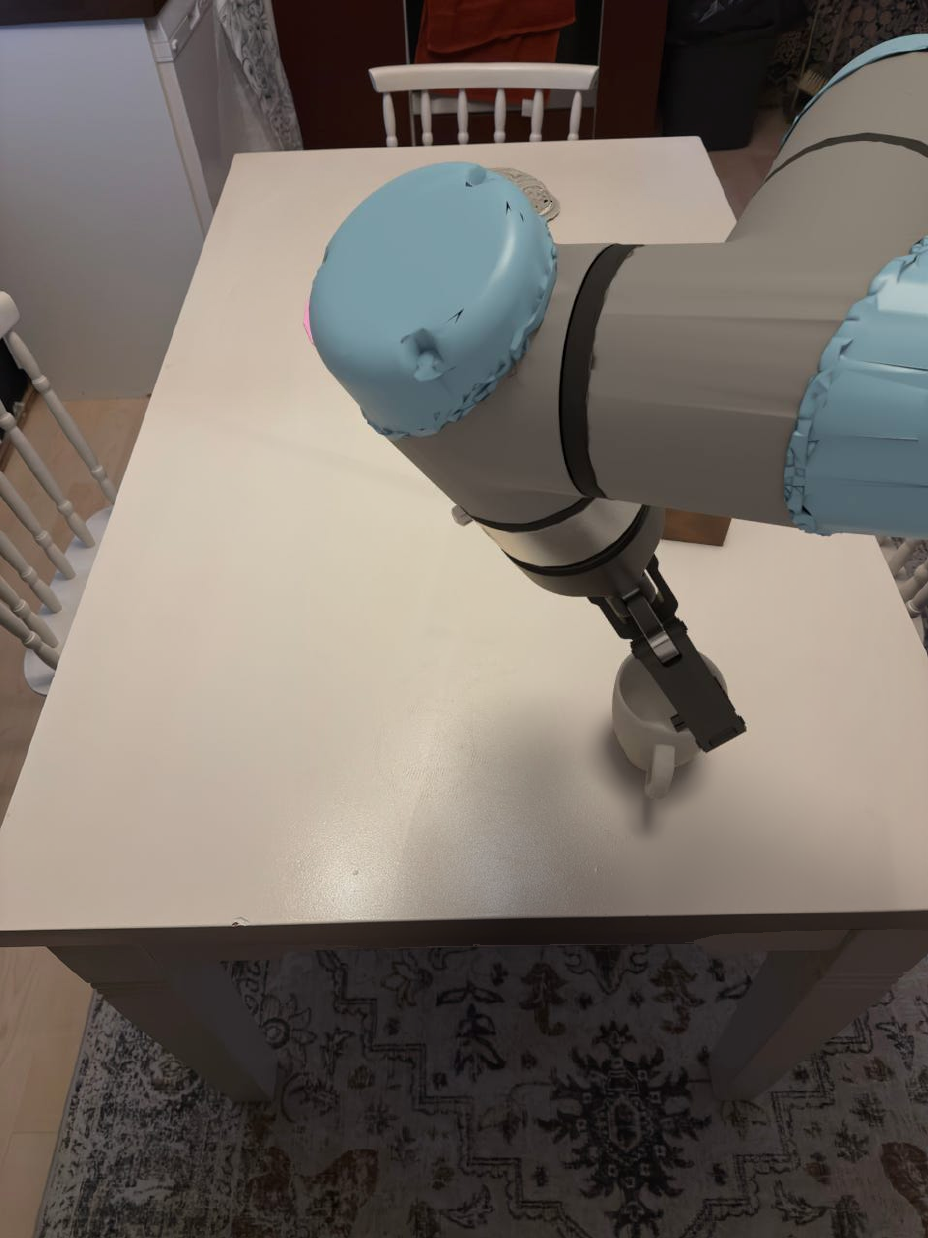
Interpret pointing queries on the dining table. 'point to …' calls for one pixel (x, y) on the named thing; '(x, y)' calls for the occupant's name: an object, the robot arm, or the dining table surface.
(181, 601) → the dining table surface
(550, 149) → the dining table surface
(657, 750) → the mug
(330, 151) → the dining table surface
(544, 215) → the grey domed piece
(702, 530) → the riser
